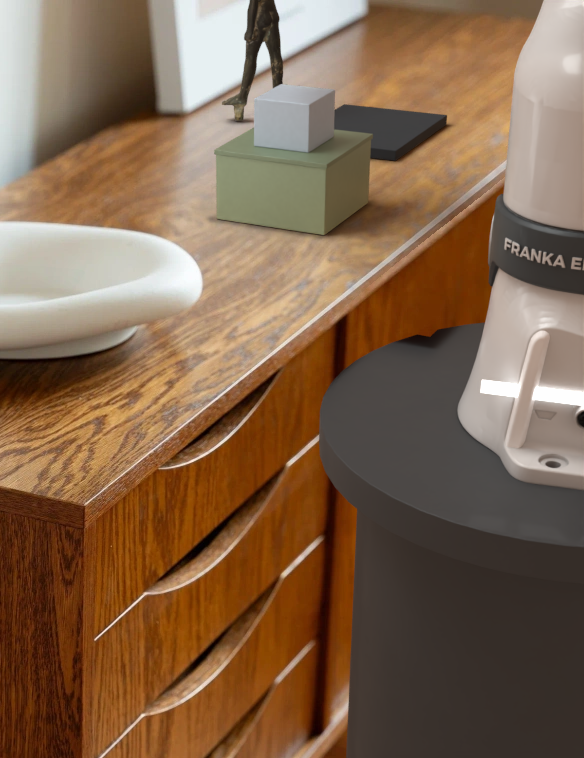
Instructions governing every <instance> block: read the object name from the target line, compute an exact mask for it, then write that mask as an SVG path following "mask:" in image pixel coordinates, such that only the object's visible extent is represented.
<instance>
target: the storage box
mask: <svg viewBox="0 0 584 758" xmlns="http://www.w3.org/2000/svg"><path fill="white" fill-rule="evenodd" d="M371 139H373V134H369V133H361V132H352V131H343V130H334V137H333V138H331V139H329V140H328V141H326V142H325V143H323V144H322V145H320V146H318V147H317V148H315V149H314V150H312V151H310V152H309V153H306V152H297V151H289V150H281V149H273V148H265V147H257V146H254V127H252V128H250V129H249V130H246V131H245V132H243V133H241V134H239V135H238V136H235V138H233V139H231V140H229V141H227V142H226V143H224V144H222V145H220V146H218V147H217V148H215V149H214V150H213V155H215V186H216V187H215V189H216V191H215V193H216V195H215V196H216V220H221V221H228V222H235V223H241V224H242V223H243V224H248V225H249V224H250V225H255V226H262V227H269V228H274V229H275V228H276V229H280V230H286V231H287V230H288V231H294V232H301V233H306V234H314V235H321V236H325V235H327V234H328V233H329V232H331V231H332V230H334V229H335V228H336V227H337V226H339V225H340V224H342V223H343V222H344V221H345V220H348V218H350V217H351V216H353V215H354V214H355V213H356V212H358V211H359V210H361V209H362V208H363V207H365V206H367V204H369V197H370V196H369V195H370V194H369V193H370V176H371V175H370V174H371V173H370V172H371V158H370V152H371Z"/></svg>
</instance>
